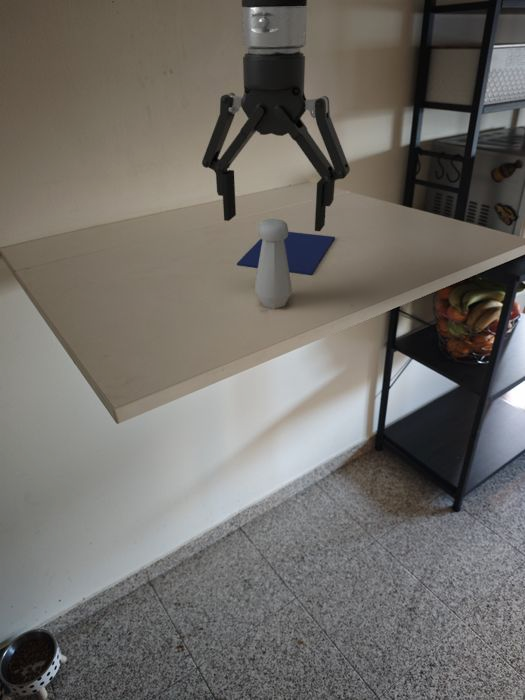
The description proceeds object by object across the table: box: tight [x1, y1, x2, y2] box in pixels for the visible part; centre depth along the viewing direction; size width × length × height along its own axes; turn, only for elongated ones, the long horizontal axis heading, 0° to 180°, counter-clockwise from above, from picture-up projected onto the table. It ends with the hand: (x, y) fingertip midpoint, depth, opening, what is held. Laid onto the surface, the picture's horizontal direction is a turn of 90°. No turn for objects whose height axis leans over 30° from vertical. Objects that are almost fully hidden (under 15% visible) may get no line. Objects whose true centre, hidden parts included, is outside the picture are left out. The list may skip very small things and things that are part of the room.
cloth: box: [236, 231, 336, 276], centre depth 95 cm, size 14×18×1 cm
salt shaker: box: [254, 218, 293, 310], centre depth 75 cm, size 6×6×13 cm
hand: (273, 223), depth 72 cm, fingers open, 13 cm apart
